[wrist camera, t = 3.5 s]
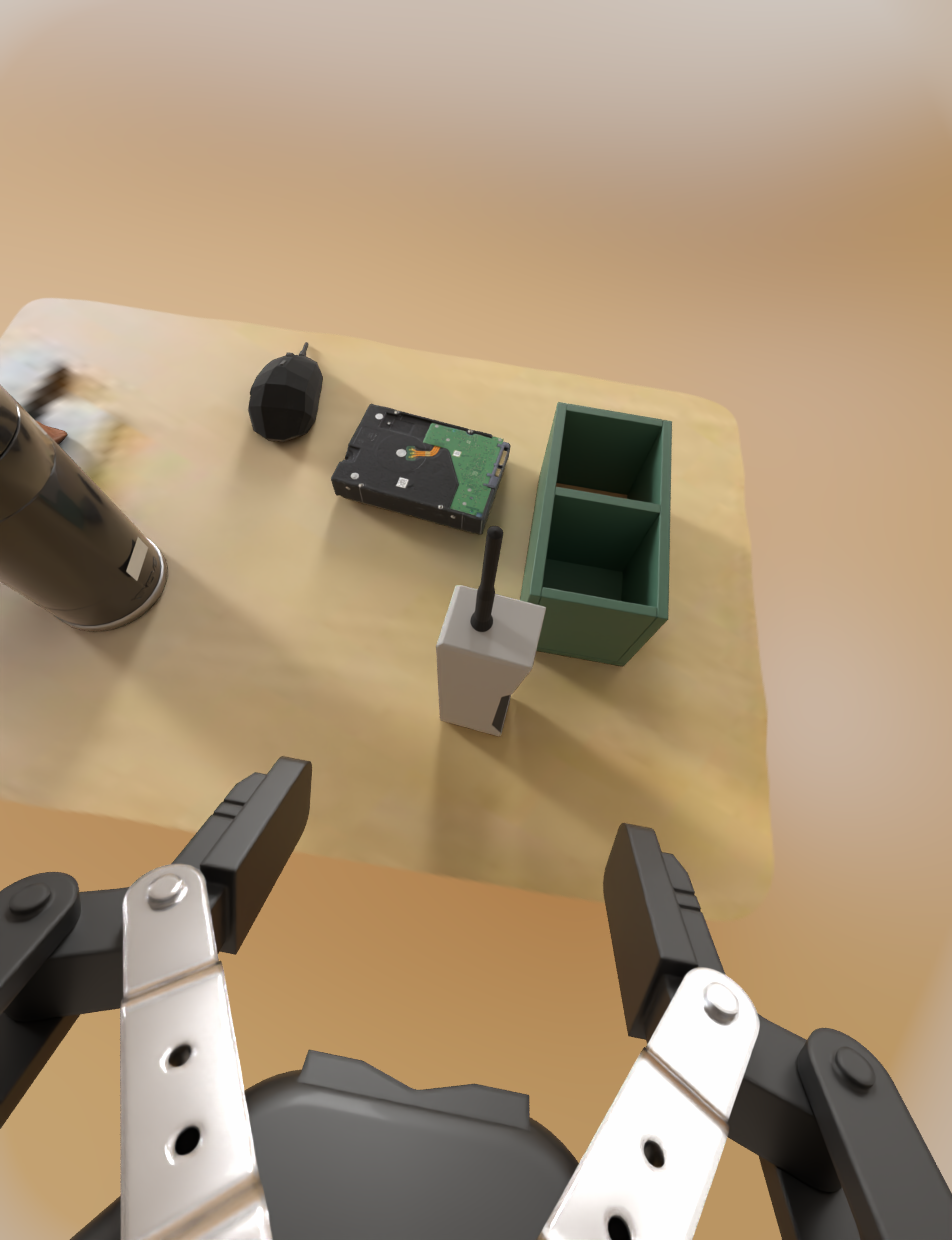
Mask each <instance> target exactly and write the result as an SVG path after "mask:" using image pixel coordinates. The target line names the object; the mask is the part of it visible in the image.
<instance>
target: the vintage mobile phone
mask: <svg viewBox="0 0 952 1240" xmlns="http://www.w3.org/2000/svg"><path fill="white" fill-rule="evenodd" d="M502 538H503V530H502V529H501V528H500V527H498V526H492V527H490V528H489V529H488V531H487V538H486V546H485V554H484V562H483V570H482V577H481V584H480V586H479V588H478V589H474V588H470V587H466V586H463V585H456V586H455V589H454V592H453V595H452V598H451V602H450V605H449V608H448V611H447V614H446V617H445V620H444V623H443V626H442V629H441V633H440V636H439V639H438V642H437V645H436V652H437V671H438V691H439V710H440V720H441V721H445V722H448V723H452V724H456V725H459V726H463V727H466V728H470V729H474V730H477V731H481V732H484V733H488V734H492V735H495V736H499V737H500V736H501V734H502V729H503V725H504V721H505V717H506V713H507V709H508V705H509V701H510V697H511V694H512V693H513V692H514V691H515V690H516V688H517V687H518V686H519V685H520V683H521V682H522V681H523V680H524V678H525V677H526V676H527V675H528V673H529V672H530V671H531V669H532V667H533V662H534V658H535V654H536V649H537V645H538V641H539V637H540V632H541V628H542V624H543V619H544V615H545V611H546V607H543V606H539V605H535V604H532V603H528V602H524V601H520V600H516V599H512V598H509V597H505V596H501V595H497V594H495V589H494V583H495V577H496V571H497V566H498V560H499V554H500V549H501V543H502Z"/></svg>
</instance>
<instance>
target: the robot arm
mask: <svg viewBox="0 0 952 1240" xmlns="http://www.w3.org/2000/svg"><path fill="white" fill-rule="evenodd" d="M166 580H167V563H166V560H165V558H164V556H163V554H162V552H161V551H160V550H159V549H158V548H157V546H156V545H155V544H154V543H153V542H152V541H150V540H149V539H148V538H146V537H145V536H144V535H143V534H142V533H141V532H140V530H139V529H138V528H137V527H136V526H135V525H134V524H133V523H132V522H131V521H130V520H129V519H128V518H127V517H126V515H125V514H124V513H123V512H122V511H121V510H120V509H119V508H118V507H117V506H116V505H115V504H114V503H113V502H112V501H111V500H110V499H109V498H108V497H107V495H106V494H105V493H104V492H103V491H102V490H101V489H100V488H99V487H98V486H97V485H96V484H95V483H94V482H93V481H92V480H91V479H90V478H89V477H88V476H87V474H86V473H85V472H84V471H83V470H82V469H81V468H80V467H79V466H78V465H77V464H76V463H75V462H74V461H73V460H72V459H71V458H70V457H69V456H68V455H67V453H66V452H65V451H64V450H63V449H62V448H61V447H60V446H59V445H58V444H57V443H56V442H55V441H54V440H53V439H52V438H51V437H50V436H49V435H48V434H47V433H46V432H45V431H44V430H43V429H42V428H41V426H40V425H39V424H38V423H37V422H36V421H35V420H34V419H33V418H32V417H31V416H30V415H29V414H28V413H27V412H26V411H25V410H24V409H23V408H22V407H21V405H20V404H19V403H18V402H17V401H16V400H15V399H14V398H13V397H12V396H11V395H10V394H9V393H8V392H7V391H6V390H5V389H4V388H3V387H2V386H1V385H0V582H1V583H3V584H5V585H6V586H8V587H10V588H11V589H13V590H14V591H16V592H18V593H19V594H21V595H23V596H24V597H26V598H28V599H29V600H31V601H32V602H34V603H35V604H37V605H39V606H40V607H42V608H44V609H45V610H47V611H48V612H50V613H52V614H53V615H54V616H55V617H57V618H58V619H59V620H61V621H62V622H64V623H66V624H67V625H69V626H71V627H73V628H76V629H80V630H84V631H105V630H110V629H114V628H118V627H121V626H123V625H126V624H128V623H130V622H132V621H134V620H135V619H137V618H138V617H140V616H141V615H143V614H144V613H145V612H146V611H147V610H149V609H150V608H151V607H152V606H153V604H154V603H155V602H156V601H157V599H158V598H159V596H160V595H161V593H162V591H163V589H164V587H165V584H166ZM311 777H312V764H311V762H310V761H305V760H300V759H294V758H289V757H284V756H282V757H280V758H279V759H278V760H277V762H276V763H275V764H274V766H273V767H272V768H271V770H270V771H269V772H268V774H267V775H266V774H261V773H256V772H255V773H253V774H252V775H250V776H249V777H247V778H245V779H244V780H242V781H241V782H239V783H237V784H236V785H235V786H234V788H233V789H232V790H231V791H230V793H229V794H228V795H227V796H226V797H225V799H224V802H221V804H220V805H219V806H218V807H217V809H216V810H215V811H214V814H213V815H211V816H210V817H209V818H208V820H207V821H206V822H205V823H204V825H203V826H202V827H201V828H200V829H199V831H198V832H197V833H196V834H195V836H194V837H193V838H192V839H191V841H190V842H189V843H188V844H187V845H186V847H185V848H184V849H183V850H182V852H181V853H180V854H179V855H178V857H177V858H176V859H175V860H174V861H173V863H172V864H170V865H165V866H162V867H159V868H156V869H154V870H151V871H149V872H148V873H146V874H144V875H143V876H141V877H140V878H139V879H138V880H136V881H135V882H134V883H133V884H132V885H131V887H127V888H120V889H110V890H100V891H99V890H98V891H87V892H79V887H78V883H77V881H76V880H75V879H74V878H73V877H72V876H70V875H68V874H65V873H61V872H46V873H40V874H36V875H32V876H29V877H26V878H24V879H21V880H19V881H17V882H15V883H13V884H11V885H9V886H8V887H6V888H4V889H3V890H2V891H0V1129H1V1127H2V1126H3V1124H4V1123H5V1122H6V1120H7V1119H8V1117H9V1116H10V1114H11V1113H12V1111H13V1110H14V1109H15V1107H16V1106H17V1104H18V1103H19V1102H20V1100H21V1099H22V1097H23V1096H24V1094H25V1093H26V1091H27V1090H28V1089H29V1087H30V1086H31V1084H32V1083H33V1081H34V1080H35V1079H36V1077H37V1076H38V1074H39V1073H40V1071H41V1070H42V1069H43V1067H44V1066H45V1064H46V1063H47V1061H48V1060H49V1058H50V1057H51V1055H52V1054H53V1053H54V1051H55V1050H56V1048H57V1047H58V1045H59V1044H60V1043H61V1041H62V1040H63V1038H64V1037H65V1036H66V1034H67V1033H68V1031H69V1030H70V1028H71V1027H72V1025H73V1024H74V1023H75V1021H76V1020H77V1018H78V1017H79V1015H80V1014H85V1013H92V1012H98V1011H104V1010H112V1009H119V1008H120V1034H121V1035H120V1037H121V1038H120V1041H121V1042H120V1044H121V1046H120V1049H121V1051H120V1059H121V1061H120V1070H121V1071H120V1072H121V1074H120V1077H121V1079H120V1081H121V1082H120V1086H121V1087H120V1088H121V1196H120V1197H118V1198H117V1199H116V1200H115V1201H114V1202H113V1203H112V1204H110V1205H109V1206H108V1207H107V1208H106V1209H105V1210H103V1211H102V1212H101V1213H100V1214H99V1215H98V1216H97V1217H95V1218H94V1219H93V1220H92V1221H91V1222H90V1223H88V1224H87V1225H86V1226H85V1227H84V1228H83V1229H81V1230H80V1231H79V1232H78V1233H77V1234H76V1235H75V1236H73V1237H72V1238H71V1239H70V1240H692V1239H693V1236H694V1233H695V1230H696V1227H697V1224H698V1221H699V1218H700V1215H701V1213H702V1209H703V1207H704V1204H705V1201H706V1198H707V1195H708V1192H709V1189H710V1186H711V1183H712V1180H713V1178H714V1174H715V1172H716V1169H717V1165H718V1163H719V1160H720V1157H721V1154H722V1151H723V1148H724V1145H725V1142H726V1139H727V1137H728V1138H730V1139H732V1140H733V1141H735V1142H737V1143H738V1144H740V1145H742V1146H744V1147H745V1148H747V1149H749V1150H750V1151H752V1152H754V1153H755V1154H757V1155H759V1159H760V1162H761V1166H762V1169H763V1173H764V1177H765V1180H766V1183H767V1187H768V1191H769V1194H770V1197H771V1201H772V1205H773V1208H774V1212H775V1216H776V1219H777V1223H778V1226H779V1229H780V1233H781V1237H782V1240H952V1193H951V1192H950V1190H949V1188H948V1186H947V1184H946V1182H945V1180H944V1178H943V1176H942V1174H941V1172H940V1170H939V1168H938V1167H937V1165H936V1163H935V1161H934V1159H933V1157H932V1155H931V1153H930V1151H929V1149H928V1147H927V1146H926V1144H925V1142H924V1140H923V1138H922V1136H921V1134H920V1132H919V1130H918V1128H917V1127H916V1124H915V1123H914V1121H913V1119H912V1117H911V1115H910V1113H909V1111H908V1109H907V1107H906V1105H905V1103H904V1102H903V1100H902V1098H901V1096H900V1094H899V1092H898V1090H897V1088H896V1086H895V1084H894V1082H893V1081H892V1079H891V1077H890V1076H889V1074H888V1073H887V1071H886V1070H885V1068H884V1067H883V1066H882V1064H881V1063H880V1062H879V1061H878V1060H877V1059H876V1057H874V1055H873V1054H872V1053H871V1052H869V1051H868V1050H867V1049H866V1048H865V1047H864V1046H862V1045H861V1044H860V1043H859V1042H857V1041H856V1040H854V1039H853V1038H851V1037H850V1036H848V1035H846V1034H844V1033H842V1032H840V1031H837V1030H834V1029H829V1028H819V1029H816V1030H815V1031H813V1032H812V1033H811V1035H810V1036H809V1038H808V1039H807V1040H806V1039H803V1038H802V1037H800V1036H798V1035H796V1034H794V1033H792V1032H790V1031H788V1030H786V1029H784V1028H782V1027H780V1026H778V1025H776V1024H774V1023H772V1022H770V1021H768V1020H767V1019H765V1018H763V1017H762V1016H761V1015H759V1014H758V1013H757V1011H756V1009H755V1007H754V1005H753V1003H752V1001H751V1000H750V998H749V997H748V995H747V994H746V993H745V992H744V990H743V989H742V988H741V987H740V986H739V985H738V984H737V983H735V982H734V981H733V980H732V979H730V978H729V977H727V976H726V975H725V972H724V970H723V967H722V965H721V962H720V959H719V956H718V954H717V951H716V949H715V946H714V943H713V940H712V938H711V935H710V932H709V929H708V927H707V924H706V921H705V919H704V916H703V913H702V912H701V911H700V909H701V908H700V905H699V903H698V900H697V897H696V896H695V895H694V893H695V892H694V889H693V886H692V884H691V881H690V878H689V876H688V873H687V872H686V870H685V869H684V868H683V867H682V865H681V864H680V863H679V862H678V860H677V859H676V858H675V856H674V855H673V854H669V853H663V852H661V849H660V846H659V843H658V840H657V837H656V834H655V831H654V830H653V829H652V828H647V827H642V826H637V825H632V824H627V823H622V824H621V825H620V827H619V829H618V832H617V835H616V838H615V841H614V844H613V847H612V850H611V853H610V856H609V859H608V862H607V865H606V868H605V873H604V882H603V891H604V899H605V905H606V910H607V915H608V921H609V927H610V933H611V939H612V945H613V951H614V956H615V962H616V968H617V974H618V979H619V985H620V991H621V997H622V1002H623V1008H624V1014H625V1019H626V1025H627V1031H628V1036H631V1037H635V1038H640V1039H645V1040H646V1041H647V1046H646V1048H645V1047H644V1048H643V1050H642V1051H641V1053H640V1055H639V1057H638V1058H637V1060H636V1062H635V1063H634V1065H633V1067H632V1069H631V1071H630V1073H629V1074H628V1076H627V1078H626V1080H625V1082H624V1083H623V1085H622V1087H621V1089H620V1091H619V1093H618V1094H617V1096H616V1098H615V1100H614V1101H613V1103H612V1105H611V1107H610V1109H609V1110H608V1112H607V1114H606V1116H605V1118H604V1120H603V1121H602V1123H601V1125H600V1127H599V1129H598V1130H597V1132H596V1134H595V1136H594V1138H593V1139H592V1141H591V1143H590V1145H589V1147H588V1148H587V1150H586V1152H585V1154H584V1156H583V1157H582V1159H581V1161H580V1163H578V1162H577V1160H576V1159H575V1157H574V1156H573V1155H572V1154H571V1152H570V1151H569V1150H568V1149H567V1148H566V1146H565V1145H564V1144H563V1143H562V1142H561V1141H560V1140H559V1139H558V1138H557V1137H556V1136H555V1135H553V1134H552V1133H551V1132H550V1131H549V1130H548V1129H546V1128H545V1127H544V1126H542V1125H541V1124H540V1123H538V1122H537V1121H535V1120H533V1119H532V1118H530V1117H529V1095H526V1094H522V1093H517V1092H512V1091H507V1090H502V1089H497V1088H493V1087H487V1086H483V1085H478V1084H468V1085H461V1086H451V1087H443V1088H433V1089H425V1090H416V1089H412V1088H410V1087H408V1086H407V1085H405V1084H403V1083H401V1082H399V1081H397V1080H396V1079H394V1078H392V1077H391V1076H389V1075H387V1074H385V1073H383V1072H382V1071H380V1070H378V1069H376V1068H374V1067H373V1066H371V1065H369V1064H367V1063H366V1062H364V1061H362V1060H357V1059H352V1058H347V1057H342V1056H337V1055H332V1054H328V1053H323V1052H318V1051H313V1050H309V1051H308V1054H307V1056H306V1060H305V1062H304V1065H303V1068H302V1070H295V1071H290V1072H286V1073H282V1074H278V1075H275V1076H273V1077H270V1078H268V1079H265V1080H263V1081H261V1082H259V1083H257V1084H255V1085H254V1086H252V1087H250V1088H248V1089H247V1090H245V1091H244V1086H243V1080H242V1075H241V1069H240V1063H239V1057H238V1051H237V1045H236V1040H235V1034H234V1029H233V1022H232V1017H231V1010H230V1005H229V999H228V993H227V987H226V982H225V975H224V970H223V966H222V963H221V961H219V960H218V953H219V951H220V952H226V953H230V954H237V952H238V950H239V948H240V946H241V945H242V943H243V941H244V939H245V937H246V936H247V934H248V932H249V930H250V928H251V926H252V925H253V923H254V921H255V919H256V917H257V915H258V914H259V912H260V910H261V908H262V906H263V905H264V903H265V901H266V899H267V897H268V895H269V894H270V892H271V890H272V888H273V886H274V885H275V883H276V881H277V879H278V877H279V875H280V874H281V872H282V870H283V868H284V866H285V865H286V863H287V861H288V859H289V857H290V855H291V854H292V852H293V850H294V848H295V846H296V845H297V843H298V841H299V839H300V837H301V835H302V833H303V831H304V829H305V826H306V823H307V819H308V815H309V809H310V793H311Z"/></svg>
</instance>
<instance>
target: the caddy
mask: <svg viewBox="0 0 952 1240" xmlns="http://www.w3.org/2000/svg"><path fill="white" fill-rule="evenodd" d="M671 446H672V421H667V420H662V419H656V418H650V417H644V416H638V415H632V414H626V413H620V412H614V411H609V410H603V409H597V408H591V407H585V406H579V405H573V404H566V403H561V402H558V403H557V407H556V412H555V416H554V420H553V424H552V428H551V432H550V436H549V440H548V444H547V448H546V452H545V456H544V460H543V464H542V468H541V472H540V476H539V481H538V488H537V494H536V500H535V507H534V513H533V520H532V526H531V533H530V539H529V546H528V552H527V558H526V565H525V571H524V578H523V584H522V591H521V597H520V601H524V602H528V603H532V604H535V605H539V606H543V607H546V611H545V615H544V619H543V624H542V628H541V632H540V637H539V641H538V645H537V649H536V651H541V652H546V653H552V654H557V655H563V656H568V657H574V658H579V659H585V660H590V661H596V662H601V663H607V664H612V665H618V666H624V665H625V664H626V663H627V662H628V661H629V660H630V659H631V658H632V657H633V656H634V655H635V654H636V653H637V652H638V651H639V650H640V648H641V647H642V646H643V645H644V644H645V643H646V642H647V641H648V640H649V639H650V638H651V637H652V636H653V635H654V634H655V633H656V632H657V631H658V629H659V628H660V627H661V626H662V625H663V624H664V623H665V622H666V621H667V620H668V603H669V551H670V499H671Z"/></svg>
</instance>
